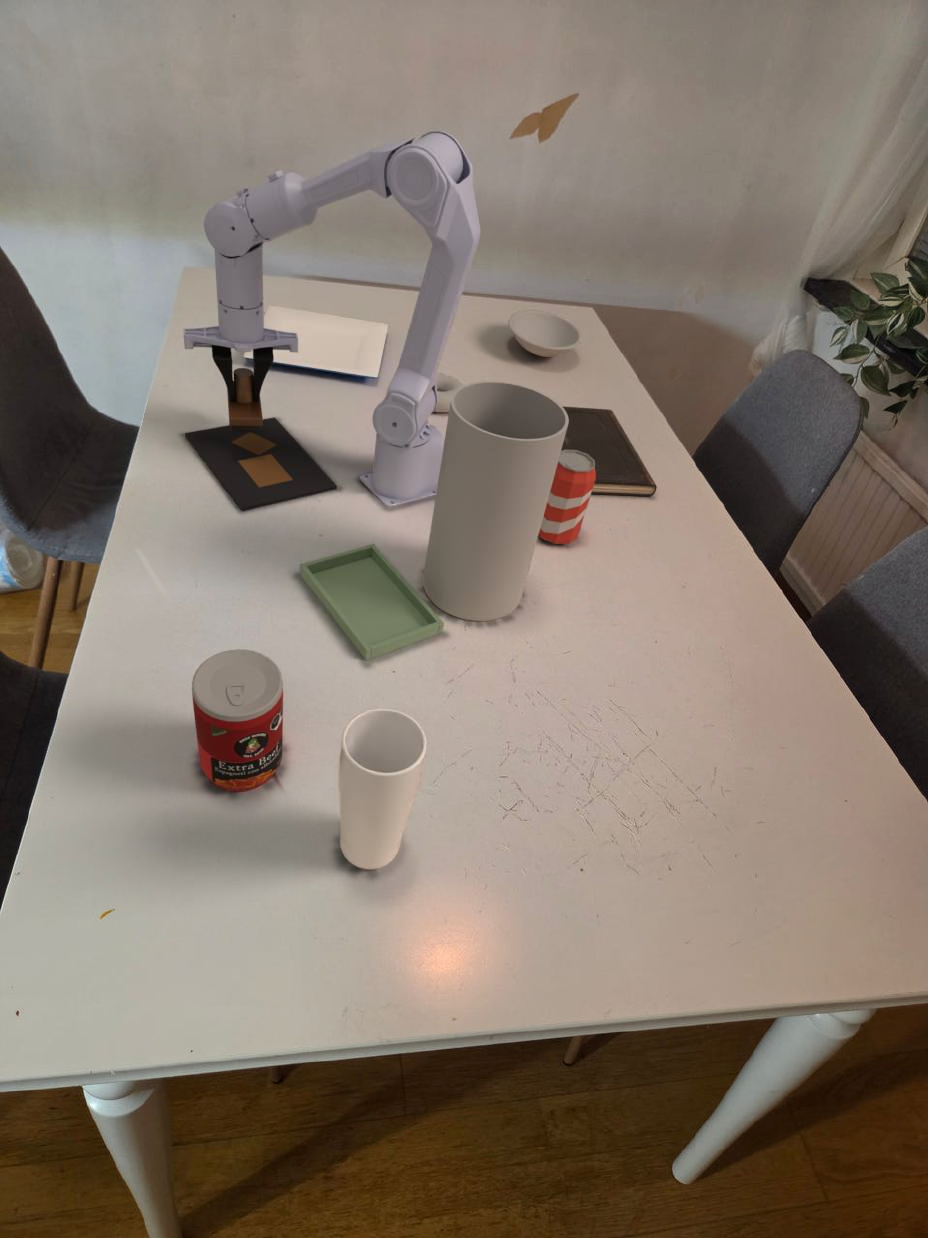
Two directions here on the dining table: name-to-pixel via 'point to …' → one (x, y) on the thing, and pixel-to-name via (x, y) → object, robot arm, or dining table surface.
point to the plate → (328, 342)
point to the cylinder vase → (491, 497)
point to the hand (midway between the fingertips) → (243, 397)
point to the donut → (446, 391)
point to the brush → (244, 404)
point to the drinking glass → (378, 784)
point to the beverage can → (568, 497)
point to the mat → (260, 464)
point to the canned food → (238, 718)
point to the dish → (544, 332)
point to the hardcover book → (607, 452)
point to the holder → (370, 601)
